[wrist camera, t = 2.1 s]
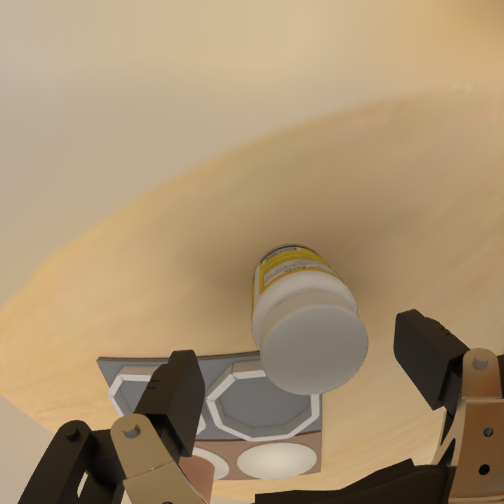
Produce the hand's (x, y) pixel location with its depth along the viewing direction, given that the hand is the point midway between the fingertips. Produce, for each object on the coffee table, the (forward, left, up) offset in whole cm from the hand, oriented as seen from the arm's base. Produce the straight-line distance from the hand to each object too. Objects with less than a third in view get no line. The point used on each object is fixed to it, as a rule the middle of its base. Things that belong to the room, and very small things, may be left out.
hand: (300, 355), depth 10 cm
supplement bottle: (-1, 0, -8) cm, 8 cm away
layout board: (+7, +14, -8) cm, 18 cm away
